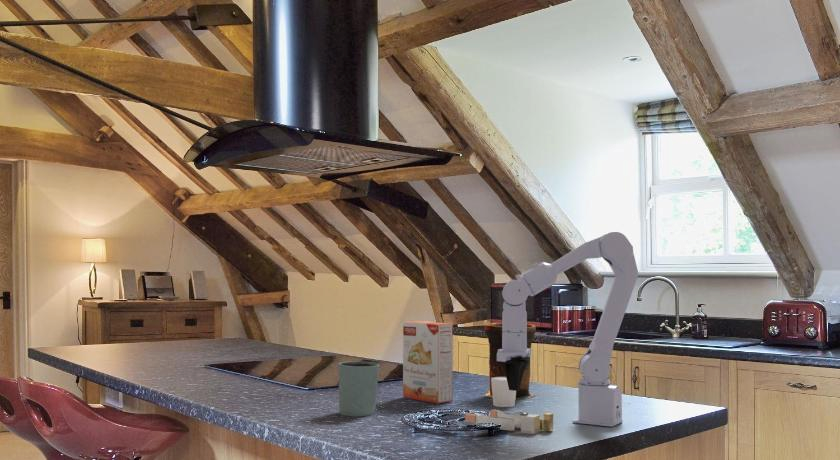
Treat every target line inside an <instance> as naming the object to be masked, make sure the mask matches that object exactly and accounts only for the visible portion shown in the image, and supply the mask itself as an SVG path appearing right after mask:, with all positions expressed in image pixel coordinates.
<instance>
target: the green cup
mask: <svg viewBox="0 0 840 460" xmlns="http://www.w3.org/2000/svg"><path fill="white" fill-rule="evenodd" d="M337 369H338V370H337V372H338V396H339V401H338V403H339V406H338V407H339V414H340V415H341V416H345V417H346V416H347V417H367V416H368V417H369V416H373V415H375V413H376V404H377V401H376V400H377V396H378V384H379V383H378V382H379V375H380V373H379V372H380V363H377V362H372V361H342V362H339V363H338V364H337Z"/></svg>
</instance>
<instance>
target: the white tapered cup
mask: <svg viewBox="0 0 840 460" xmlns="http://www.w3.org/2000/svg"><path fill="white" fill-rule="evenodd" d="M491 384H492V395H493V397H492V405H493V406H494V407H499V408H511V407H515V406H516V399H515V398H516V391H513V390H509V387H508V383H507V379H506V377H493V378H491Z"/></svg>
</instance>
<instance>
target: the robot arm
mask: <svg viewBox="0 0 840 460" xmlns="http://www.w3.org/2000/svg"><path fill="white" fill-rule="evenodd" d="M600 258H602V259H603V260H604V261H605V262H606V263H607V264H608V265H609V267H610V268H611V270H612V272H613V274H614V280H613V283H612V285H611V287H610V291H609V293H608V296H607V300H606V302H605V305H604V307H603V311H602V314H601V315H600V319H599V321H598V324H597V327H596V330H595V333H594V335H593V338H592V340H591V342H590V344H589V346H588V349H587V351H586V352H585V353H584V354H583V355H581V357H580V359H579V362H578V368H579V369H578V370H579V371H580V374H581V378H580V379H579V380H578V381H577V382H578V391H577V392H578V417H577V418H575V419H573V420H572V423H573V424H574V423H575V424H582V425H583V424H585V425H590V426H591V425H593V426H601V427H611V428H612V427H615V426H617V425H618V424H620V423H623V422H624V421H623V416H622V415H623V412H622V411H623V407H622V403H623V397H622V395H623V394H622V389H621V387H620V386H619V385H613V384H611V380H610V379H609V377H610V375H611V360H612V355H613V349H614V344H615V342H616V338H617V336H618V333H619V331H620V328H621V324H622V322H623V319H624V316H625V313H626V310H627V308H628V305H629V303H630V300H631V297H632V294H633V291H634V289H635V286H636V283H637V280H638V278H639V270H638V266H637V262H636V258H635V254H634V247H633V245H632V244H631V242H630V240H629V239H628V237H627V236H626V235H624V234H623V233H621V232H619V231H611V232H608V233H606V234H604V235H601V236H600V237H597V238H594V239H592V240H589V241H586V242H584V243H581V245H578V247H576V248H574V249H572V250H571V251H569V252H568V253H566V254H564V255H563V256H561V257H560V258H558V259H556V260H555V261H553V262H551V263H547V262H545V261H542V262H535V263H534V264H532V268H530V269H528V270H527V271H525V272H523V273H522V274H519V273H518V274H516V275H515V278H516V279H511V280H509V281H508V282H506V283H505V285H504V286H503V289H502V292H501V296H502V298H503V300H504V301H503V304H502V310H503V311H502V315H501V319H502V321H501V323H502V349H499V350H498V353H497V361H500V364H501V366H502V367H503V370H504V372H505V375H506V379H507V383H508V387H509V390H513V391H518V390H519V389H520V386H521V381H522V377H523V374H524V371H525V369H526V367H527V365H528V363H529V359H522V357H530V358H531V357H532V347H531V348H527V324H528V322H527V321H528V320H527V319H528V315H527V314H528V313H527V312H528V311H526V309H527V308H526V305H527V303H526V301H527V299H528V296H529V297H530V296H531V297H534V296H536V295H538V294H539V293H541V292H542V291H545V290H546V289H548V288H550V287H551V286H553V285H554V284H556V282H557V278H558V276H559V275H560V274H562V273H564V272H566V271H568V270H569V269H571V268H573V267H575V266H577V265H578V264H580V263H582V262H584V261H586V260H589V259H590V260H591V259H600Z"/></svg>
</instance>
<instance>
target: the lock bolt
mask: <svg viewBox="0 0 840 460" xmlns="http://www.w3.org/2000/svg"><path fill="white" fill-rule="evenodd" d="M541 431H543V432H552V431H554V413H553V412H545V413H543V418H541V417H540V432H541Z"/></svg>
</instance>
